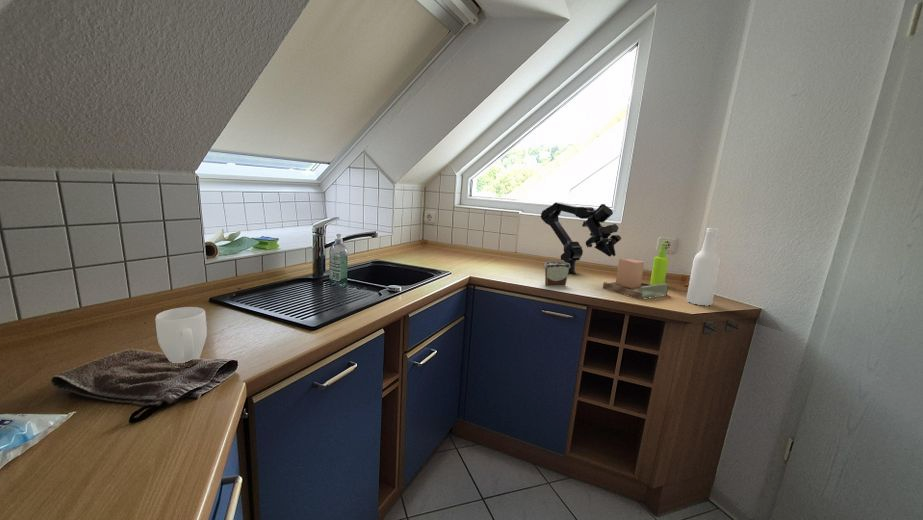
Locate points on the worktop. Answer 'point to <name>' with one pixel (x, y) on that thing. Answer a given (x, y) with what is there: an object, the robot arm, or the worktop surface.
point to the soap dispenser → (659, 266)
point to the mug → (181, 333)
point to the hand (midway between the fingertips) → (612, 256)
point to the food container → (556, 273)
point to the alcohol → (704, 271)
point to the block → (629, 272)
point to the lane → (638, 289)
